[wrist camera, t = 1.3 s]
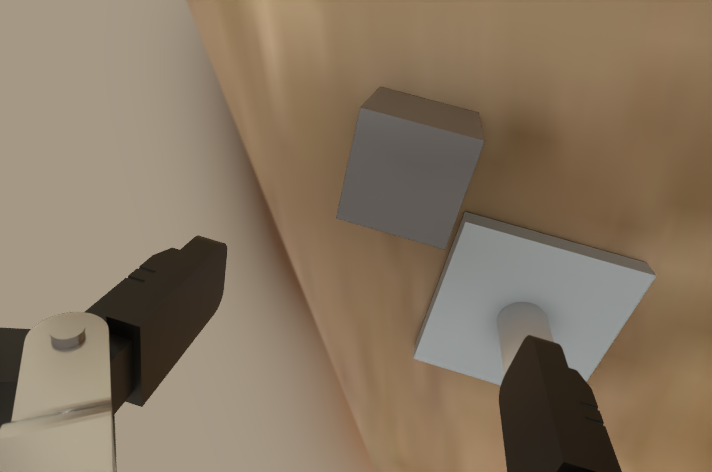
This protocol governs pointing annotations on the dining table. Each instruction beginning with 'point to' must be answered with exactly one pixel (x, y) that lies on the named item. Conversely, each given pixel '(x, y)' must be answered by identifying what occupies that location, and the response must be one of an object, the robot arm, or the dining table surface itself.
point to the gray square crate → (410, 166)
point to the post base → (525, 299)
